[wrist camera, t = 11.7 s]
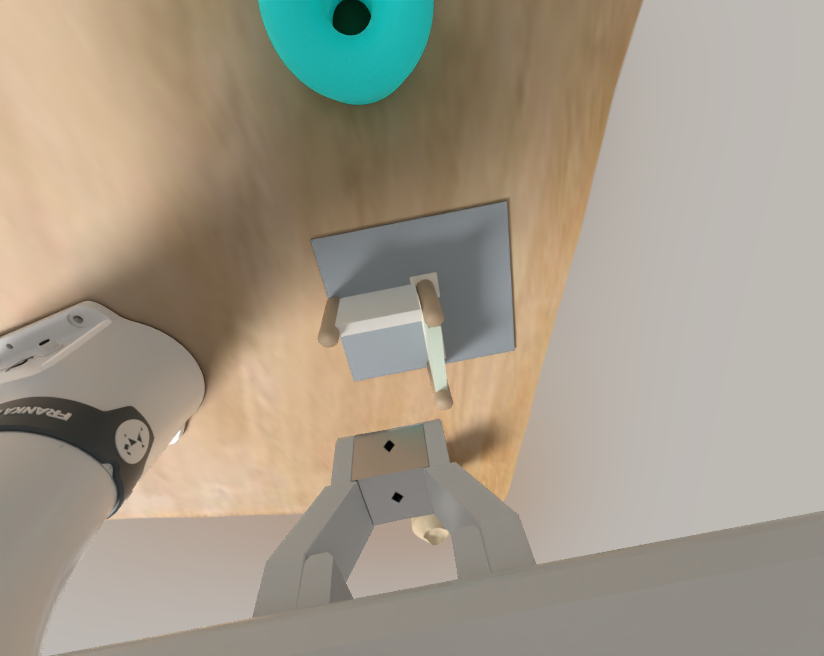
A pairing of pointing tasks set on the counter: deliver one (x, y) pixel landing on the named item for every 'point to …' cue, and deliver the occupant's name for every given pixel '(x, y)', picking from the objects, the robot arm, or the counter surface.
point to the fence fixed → (379, 311)
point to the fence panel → (437, 368)
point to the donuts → (349, 45)
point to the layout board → (441, 264)
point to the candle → (429, 529)
